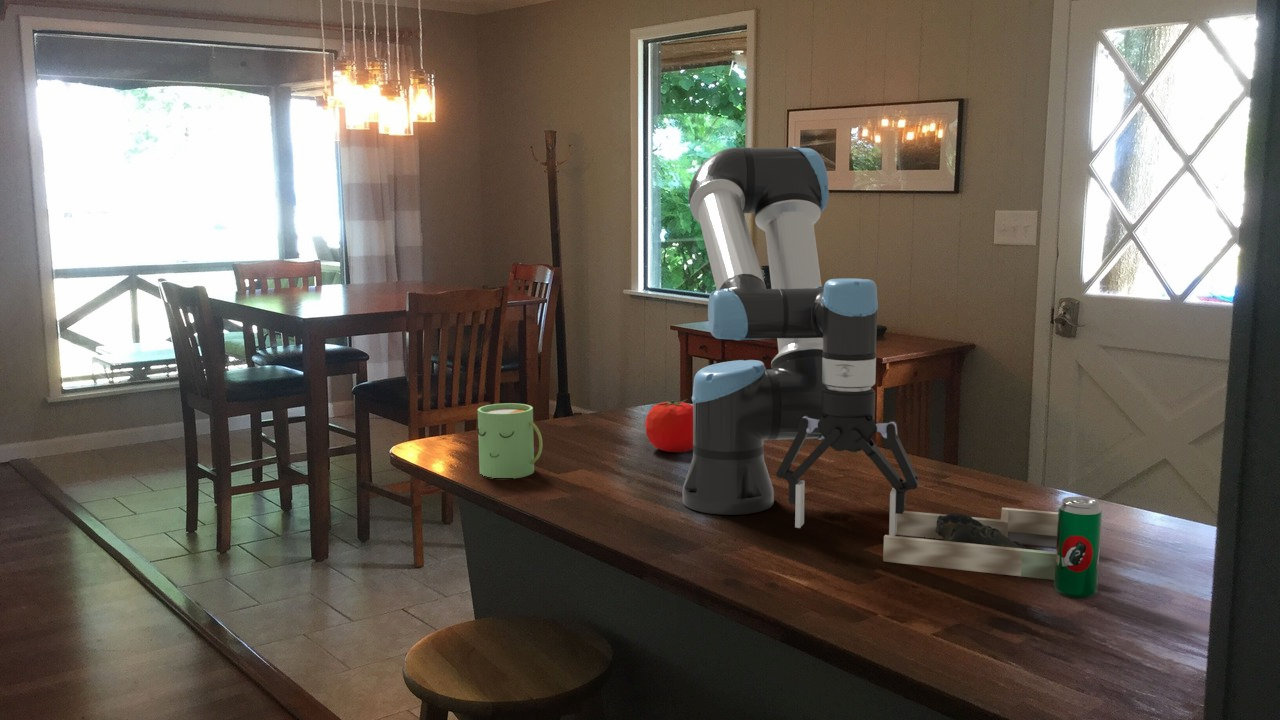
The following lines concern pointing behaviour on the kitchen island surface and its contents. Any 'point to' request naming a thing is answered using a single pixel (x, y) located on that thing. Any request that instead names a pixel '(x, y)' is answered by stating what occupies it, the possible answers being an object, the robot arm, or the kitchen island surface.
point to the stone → (971, 532)
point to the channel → (976, 557)
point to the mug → (507, 440)
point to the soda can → (1078, 547)
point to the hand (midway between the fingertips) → (845, 530)
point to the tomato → (671, 426)
